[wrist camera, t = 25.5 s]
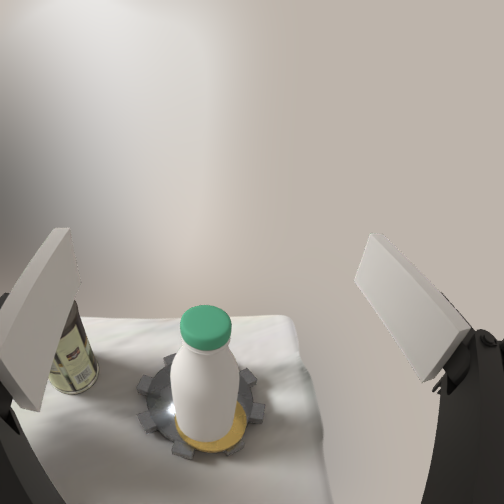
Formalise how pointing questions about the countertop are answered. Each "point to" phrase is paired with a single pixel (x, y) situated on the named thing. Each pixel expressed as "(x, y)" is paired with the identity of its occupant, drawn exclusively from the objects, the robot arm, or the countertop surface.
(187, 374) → the milk bottle
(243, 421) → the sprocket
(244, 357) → the countertop surface
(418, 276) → the robot arm
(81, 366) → the coffee can
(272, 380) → the countertop surface
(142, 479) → the countertop surface
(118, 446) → the countertop surface
